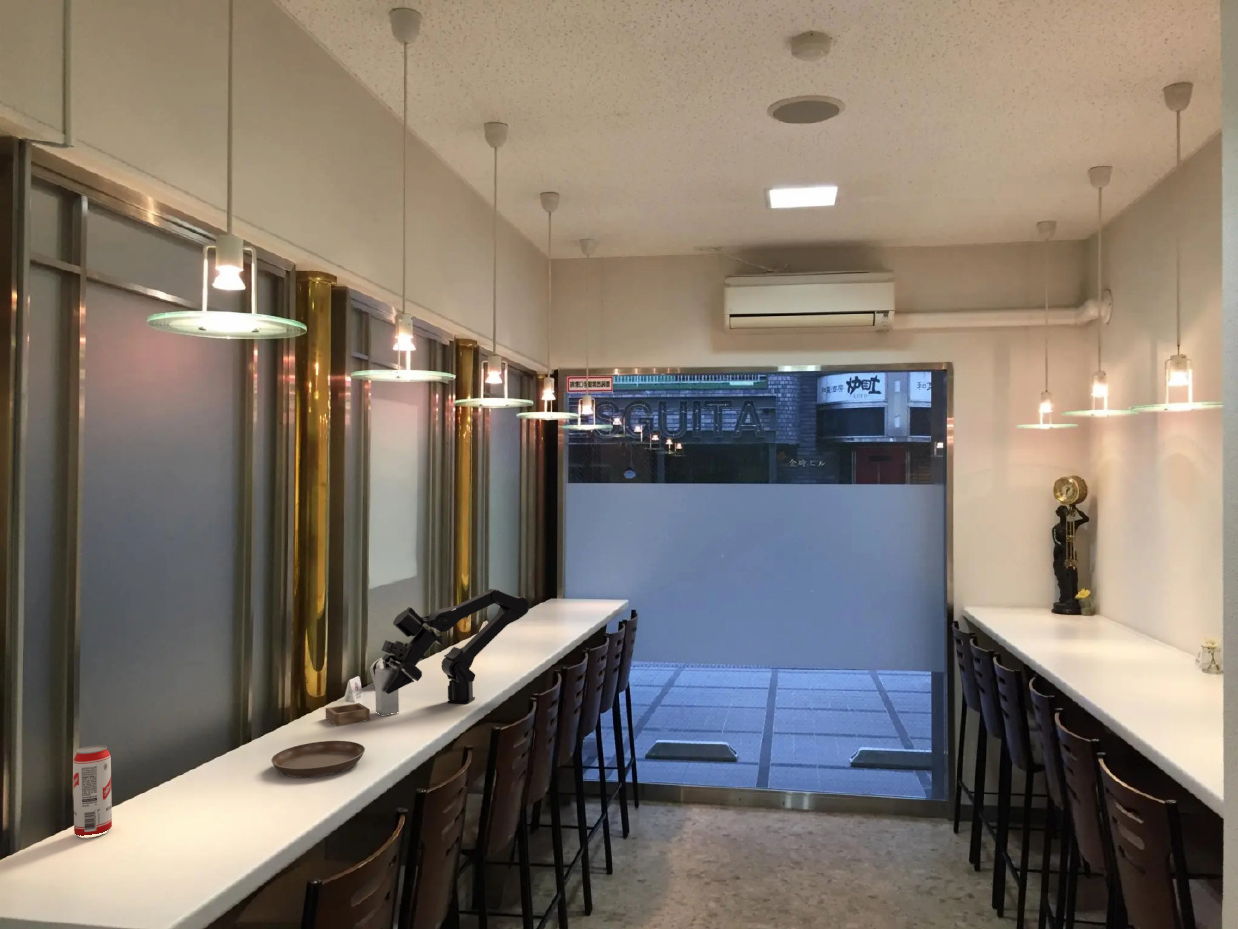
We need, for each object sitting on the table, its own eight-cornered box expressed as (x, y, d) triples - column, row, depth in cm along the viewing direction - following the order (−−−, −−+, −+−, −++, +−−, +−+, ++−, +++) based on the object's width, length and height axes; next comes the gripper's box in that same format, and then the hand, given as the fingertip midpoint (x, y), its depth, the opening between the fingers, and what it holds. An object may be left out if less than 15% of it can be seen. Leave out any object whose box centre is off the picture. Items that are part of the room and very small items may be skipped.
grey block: (392, 710, 269) (391, 667, 269) (398, 713, 265) (397, 669, 265) (375, 713, 266) (374, 669, 266) (381, 716, 262) (380, 672, 262)
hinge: (389, 689, 297) (378, 659, 298) (376, 694, 298) (365, 664, 299) (409, 678, 314) (399, 650, 314) (397, 682, 314) (387, 654, 315)
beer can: (71, 842, 172) (70, 755, 173) (76, 831, 178) (75, 747, 178) (110, 836, 175) (108, 750, 175) (113, 825, 180) (112, 742, 181)
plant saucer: (327, 785, 203) (327, 769, 203) (251, 777, 210) (251, 762, 210) (383, 758, 222) (382, 744, 222) (311, 751, 229) (311, 738, 229)
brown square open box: (359, 713, 266) (359, 703, 266) (369, 720, 258) (369, 709, 258) (325, 718, 261) (325, 708, 261) (335, 725, 253) (335, 714, 253)
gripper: (388, 625, 276) (351, 668, 270) (410, 633, 260) (372, 678, 254) (414, 649, 280) (378, 691, 274) (437, 658, 264) (400, 703, 258)
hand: (382, 690), depth 265 cm, fingers open, 8 cm apart
